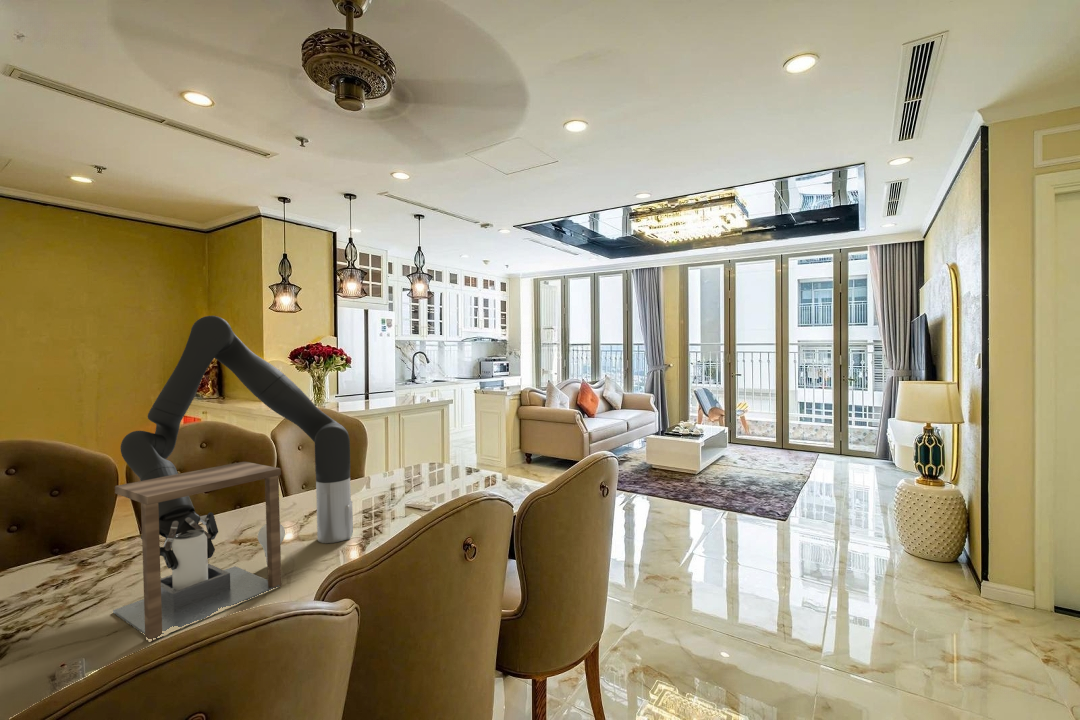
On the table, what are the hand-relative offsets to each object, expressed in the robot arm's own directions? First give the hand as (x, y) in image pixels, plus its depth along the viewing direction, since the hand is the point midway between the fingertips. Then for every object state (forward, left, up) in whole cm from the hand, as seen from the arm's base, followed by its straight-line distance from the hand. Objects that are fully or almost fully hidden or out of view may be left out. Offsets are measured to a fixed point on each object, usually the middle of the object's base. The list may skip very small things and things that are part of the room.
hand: (193, 561), depth 107 cm
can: (+1, -1, -6) cm, 7 cm away
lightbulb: (-12, -13, -8) cm, 19 cm away
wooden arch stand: (-4, +4, -8) cm, 10 cm away
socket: (-2, +2, -8) cm, 8 cm away
